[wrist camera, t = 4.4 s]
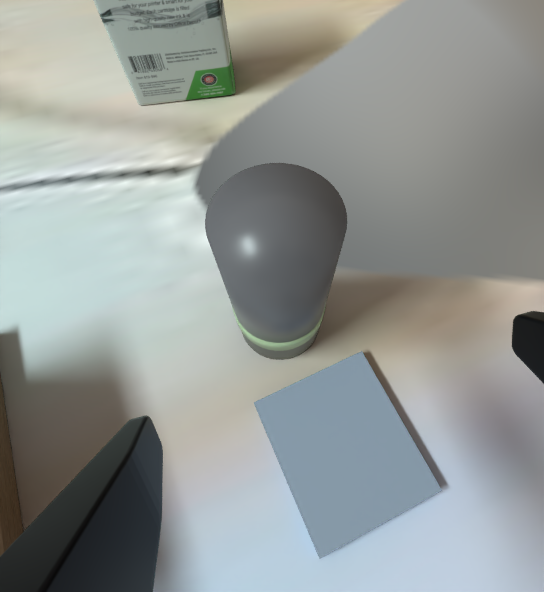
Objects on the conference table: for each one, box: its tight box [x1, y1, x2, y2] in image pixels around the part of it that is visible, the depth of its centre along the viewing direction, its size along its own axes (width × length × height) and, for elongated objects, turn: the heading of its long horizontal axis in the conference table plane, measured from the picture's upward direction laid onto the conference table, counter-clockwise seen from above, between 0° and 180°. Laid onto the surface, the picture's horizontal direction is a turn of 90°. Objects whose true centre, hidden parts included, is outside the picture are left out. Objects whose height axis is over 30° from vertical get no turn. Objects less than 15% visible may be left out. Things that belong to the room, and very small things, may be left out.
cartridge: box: [205, 163, 347, 360], centre depth 18 cm, size 5×5×11 cm
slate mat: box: [254, 351, 442, 559], centre depth 19 cm, size 8×7×1 cm
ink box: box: [93, 0, 235, 105], centre depth 26 cm, size 9×5×12 cm, turn 96°
